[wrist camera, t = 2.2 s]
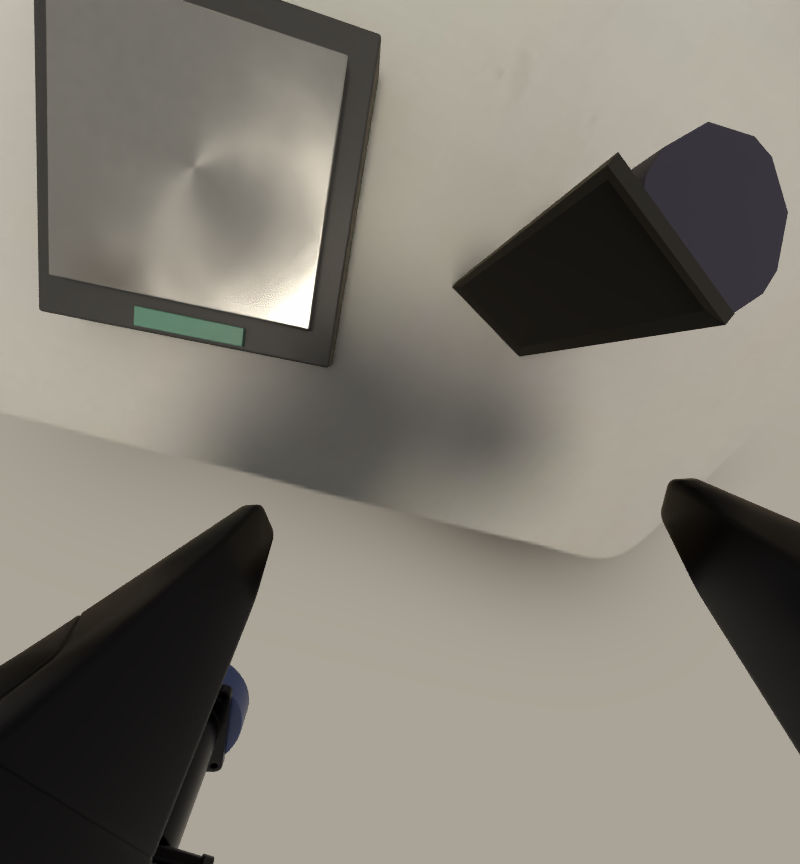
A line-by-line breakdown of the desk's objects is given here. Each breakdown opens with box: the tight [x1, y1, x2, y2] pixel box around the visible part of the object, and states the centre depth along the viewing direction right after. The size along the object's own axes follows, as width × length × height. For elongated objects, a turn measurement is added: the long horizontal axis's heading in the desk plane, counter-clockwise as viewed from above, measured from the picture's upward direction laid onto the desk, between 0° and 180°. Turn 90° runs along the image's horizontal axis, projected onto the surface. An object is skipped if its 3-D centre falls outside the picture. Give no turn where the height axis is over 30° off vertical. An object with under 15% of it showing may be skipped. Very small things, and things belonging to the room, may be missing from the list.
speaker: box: [453, 122, 788, 356], centre depth 14 cm, size 8×6×10 cm
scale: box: [34, 0, 381, 367], centre depth 15 cm, size 13×12×3 cm
